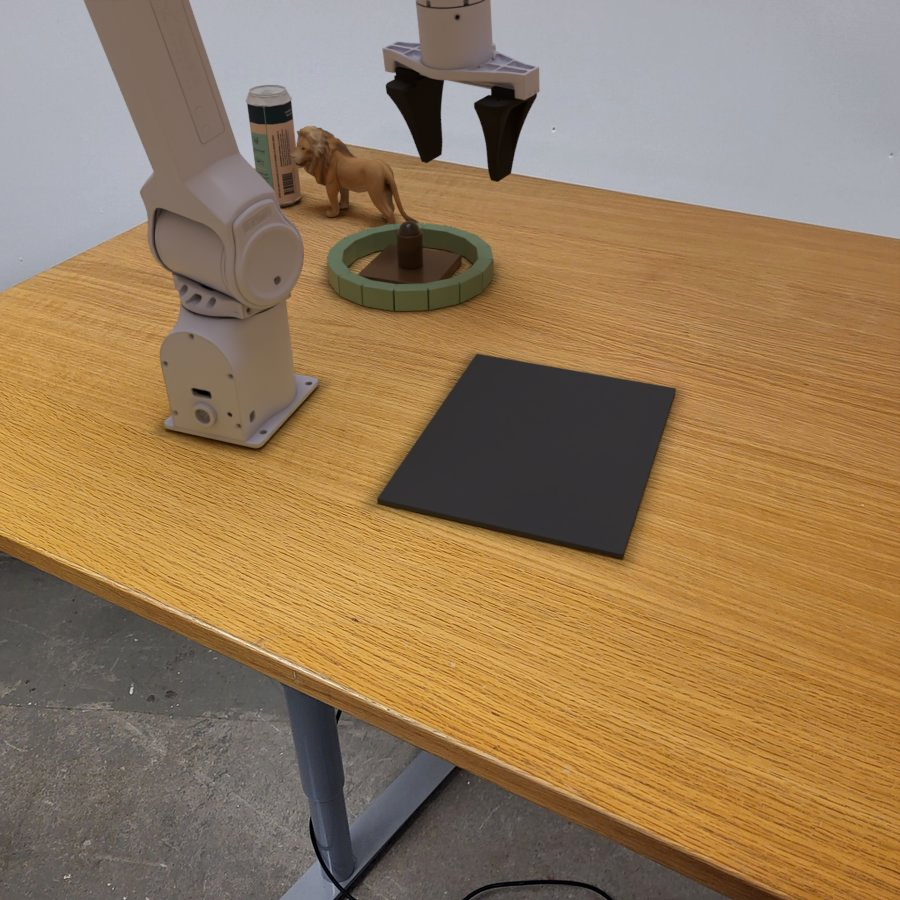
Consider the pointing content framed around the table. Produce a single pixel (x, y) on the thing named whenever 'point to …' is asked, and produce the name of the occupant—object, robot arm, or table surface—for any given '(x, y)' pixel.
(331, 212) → the lion figurine
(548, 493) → the mat
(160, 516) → the table surface
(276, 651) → the table surface
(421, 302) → the ring
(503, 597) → the table surface
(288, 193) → the beer can
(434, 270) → the peg stand
